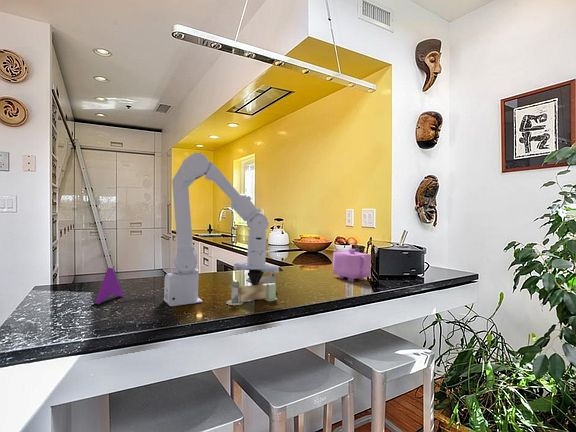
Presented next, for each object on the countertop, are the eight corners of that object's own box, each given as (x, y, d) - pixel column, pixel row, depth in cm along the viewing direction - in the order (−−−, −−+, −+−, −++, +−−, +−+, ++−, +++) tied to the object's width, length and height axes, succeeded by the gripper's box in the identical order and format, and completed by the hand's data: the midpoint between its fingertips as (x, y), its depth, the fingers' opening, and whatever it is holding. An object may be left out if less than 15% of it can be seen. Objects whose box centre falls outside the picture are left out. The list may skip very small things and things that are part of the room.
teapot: (374, 281, 136) (375, 250, 136) (356, 284, 131) (357, 252, 130) (341, 273, 153) (342, 245, 153) (324, 274, 148) (325, 246, 147)
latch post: (268, 301, 103) (268, 285, 103) (264, 299, 105) (265, 283, 105) (277, 300, 105) (277, 284, 104) (273, 298, 106) (274, 282, 106)
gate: (240, 301, 100) (241, 287, 100) (238, 300, 101) (238, 286, 101) (273, 297, 106) (273, 284, 106) (270, 295, 108) (270, 282, 107)
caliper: (276, 292, 116) (276, 273, 116) (273, 292, 115) (273, 274, 115) (248, 280, 133) (248, 265, 132) (245, 281, 132) (246, 265, 132)
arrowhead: (111, 315, 100) (90, 297, 93) (107, 314, 100) (86, 296, 94) (130, 286, 106) (112, 267, 100) (126, 285, 107) (108, 267, 100)
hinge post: (230, 306, 96) (231, 283, 96) (223, 302, 100) (224, 279, 100) (246, 304, 99) (246, 281, 99) (238, 300, 103) (239, 278, 103)
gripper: (230, 251, 104) (228, 294, 104) (274, 254, 100) (273, 299, 101) (239, 248, 111) (237, 289, 111) (281, 251, 107) (279, 293, 107)
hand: (255, 293), depth 106 cm, fingers closed, pressing on gate
